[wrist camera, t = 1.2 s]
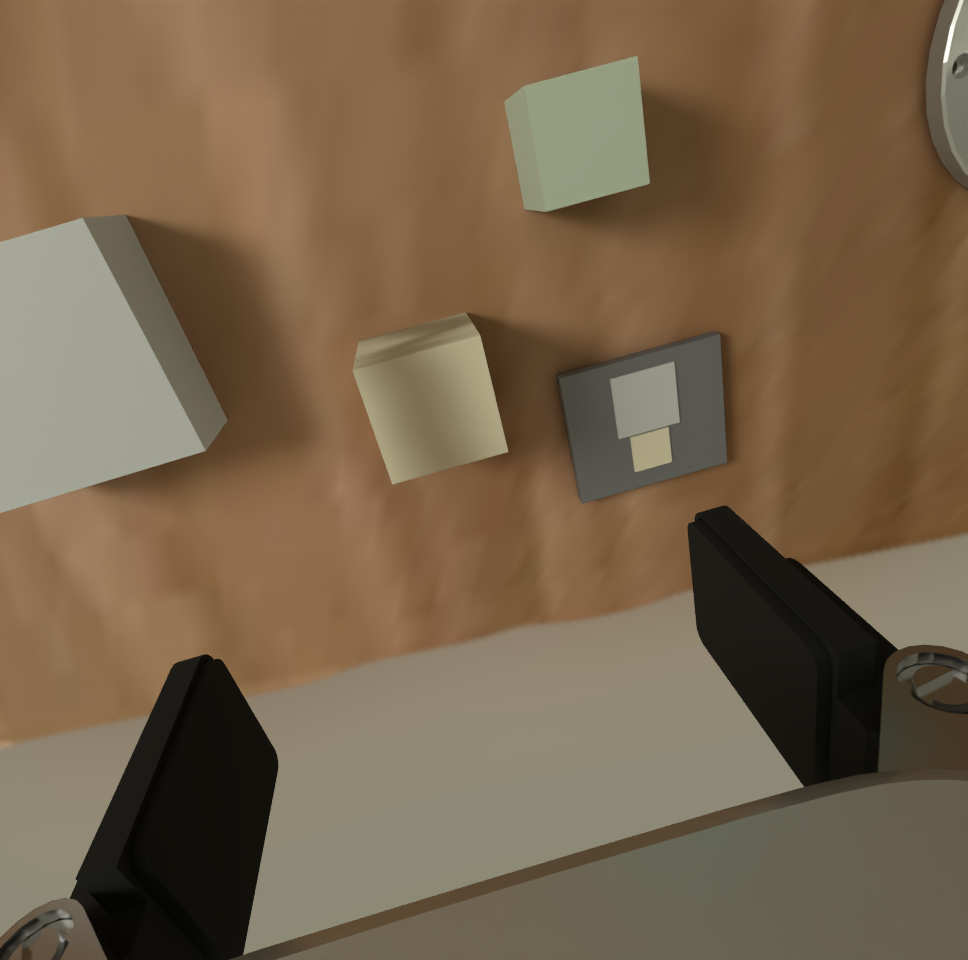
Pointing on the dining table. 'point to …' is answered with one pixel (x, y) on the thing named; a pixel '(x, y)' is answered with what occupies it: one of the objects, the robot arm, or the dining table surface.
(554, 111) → the sage cube
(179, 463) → the dining table surface
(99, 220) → the grey base block
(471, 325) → the cream cube
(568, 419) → the card
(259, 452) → the dining table surface
